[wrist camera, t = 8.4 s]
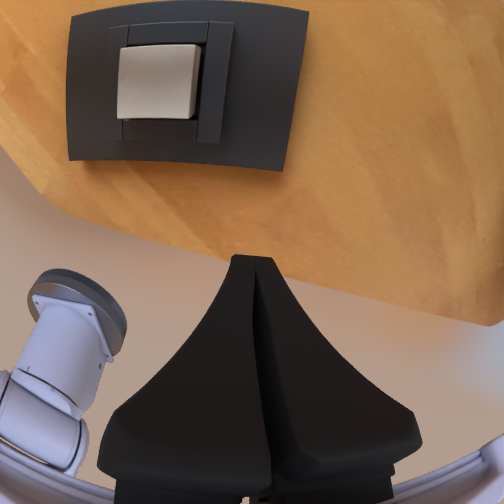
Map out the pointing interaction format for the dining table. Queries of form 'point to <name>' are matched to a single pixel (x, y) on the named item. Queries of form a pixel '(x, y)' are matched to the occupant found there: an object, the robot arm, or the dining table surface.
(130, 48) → the ivory key
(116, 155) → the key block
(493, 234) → the dining table surface
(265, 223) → the dining table surface
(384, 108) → the dining table surface
